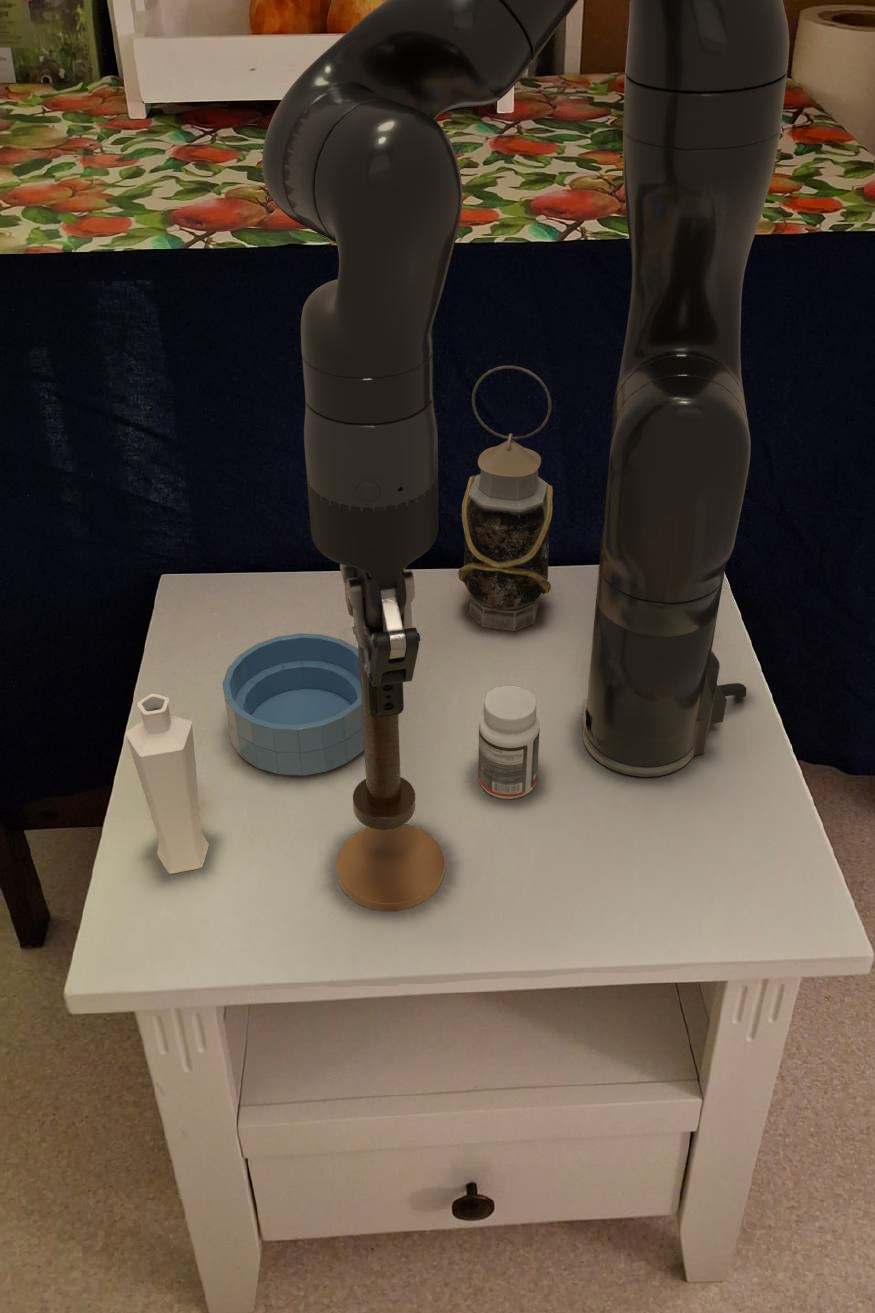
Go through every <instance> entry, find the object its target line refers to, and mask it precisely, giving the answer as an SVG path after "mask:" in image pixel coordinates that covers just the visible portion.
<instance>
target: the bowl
mask: <svg viewBox="0 0 875 1313" xmlns="http://www.w3.org/2000/svg"><path fill="white" fill-rule="evenodd" d="M222 690H223V697H224V704H225V708H226V710H225V711H226V716H227V722H228V729H229V736H230V742H231V745H232V746H233V747H234V749H235V750H236V752H237V754H238V755H239V756H240V757H241V759H243V760H244V761H246V762H247V763H248V764H251V765H252V766H254V767H255V768H256V769H260V770H262V771H263V770H264V771H267V772H270V773H273V774H277V775H283V776H284V775H285V776H309V775H315V774H320V773H326V772H329V771H331V770H334V769H336V768H338V767H341V766H343V765H346V764H348V763H349V762H350V761H352V760H353V759H354V758H356V757H357V756H358V755H359V754H361V753H362V752H363V751H364V733H363V714H362V696H361V680H360V669H359V651H358V647H356V646H355V645H353V644H351V643H349V642H347V641H346V640H343V639H341V638H337V637H333V636H329V635H326V634H322V633H302V632H300V633H293V634H286V635H279V636H275V637H272V638H270V639H269V638H268V639H267V640H264V641H260V642H258V643H256V644H254V645H253V646H251V647H249V648H247V649H246V650H245V651H243V652H241V653H240V654H239V655H237V657H236V658H235V659H234V660H233V661H232V663H231V664H230V665H229V666H228V667H227V669H226V673H225V675H224V678H223V681H222Z"/></svg>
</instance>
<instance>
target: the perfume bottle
mask: <svg viewBox="0 0 875 1313" xmlns="http://www.w3.org/2000/svg"><path fill="white" fill-rule="evenodd" d="M169 703H170V698H169V697H167V696H164V695H161V694H157V693H151V694H148V695H147V696H145V697H144V698H143V699H142V698H141V700H140V701H138V702H137V703H136V706H137V707H138V709H139V710H140V715H141V719H142V720H141V721H139V723H137V724H135V725H134V726H132V727H131V728H130V729H128V730H126V731H125V733H124V734H125V737H126V740H127V744H128V748H129V750H130V753H131V756H132V759H133V763H134V765H135V769H136V772H137V775H138V778H139V781H140V784H141V787H142V788H141V789H142V790H143V794H144V797H145V801H146V803H147V807H148V809H149V812H150V816H151V819H152V822H153V825H154V829H155V832H156V834H157V838H158V844H157V845H158V846H157V851H156V855H157V857H158V859H159V860H160V862H161V864H162V865H163V867H164V868H165V870H166V872H167V873H168V874H177V873H183V872H188V871H192V870H199V869H201V868H203V866H204V864H205V860H206V856H207V853H208V851H209V850H208V849H209V847H210V844H209V842H208V840H207V838H206V837H205V835H204V834H203V831H202V824H201V813H200V800H199V790H198V787H199V786H198V777H197V765H196V754H195V752H196V751H195V742H194V740H195V739H194V730H193V729H194V728H193V721H192V720H189V719H186V718H183V717H179V716H175V715H172V714H171V713H170V707H169Z"/></svg>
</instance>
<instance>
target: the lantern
mask: <svg viewBox="0 0 875 1313" xmlns="http://www.w3.org/2000/svg"><path fill="white" fill-rule="evenodd" d="M506 369H507V370H511V369H512V370H517V371H521V372H523V373H527V374H528V375H530V376H531V377H533V378H534V379H535V380H536V381H538V383H539V384H540V386H542V388H543V390H544V392H545V394H546V398H547V404H548V407H547V413H546V416H545V418H544V420H543V422H542V423H541V425H540V426H539V427H538V428H537V429H535V430H534V431H533V432H530V433H528V434H525V435H521V436H514V435H513V433H509V434H508V435H504V434H500V433H498V432H496V431H494V430H493V429H491V428H490V427H489V426H488V425H486V424H485V423H484V421H483V420H482V419H481V417H480V415H479V413H478V411H477V407H476V393H477V390H478V387H479V386H480V384H481V382H482V381H483V380H484V379H485V378H486V377H487V376H488V375H490V374H492V373H495V372H497V371H500V370H506ZM471 394H472V395H471V406H472V410H473V413H474V416H475V417H476V419H477V422H479V423H480V425H481V426H482V427H483V428H484V429H485V430H486V431H487V432H489V433H490V434H492V435H494V436H496V437H498V438H501V439H505V441H504V442H502V443H500V444H499V445H496V446H492V447H489V448H487V449H484V450H483V451H482V452H481V453H480V454H479V457H478V459H477V466H478V467H479V469H480V474H477V475H471V476H470V477H469V479H468V482H467V486H466V489H465V492H464V496H463V499H462V504H461V521H462V527H463V532H464V553H463V556H464V557H463V566H462V567H460V568H459V570H458V573H457V575H458V580H459V581H461V582H462V583H464V585H465V588H466V590H467V591H468V593H469V594H470V595H469V598H470V602H469V616H470V617H471V618H473V620H474V621H476V622H477V623H478V625H480V626H481V627H482V628H489V629H496V630H503V631H510V632H517V631H519V630H521V629H523V628H526V627H528V626H530V625H531V626H532V625H533V624H534V623H535V621H536V618H537V614H538V611H539V607H540V596H541V595H545V594H549V593H550V591H551V589H552V588H551V587H552V585H551V583H550V581H549V579H548V578H549V554H550V553H549V552H550V524H551V520H552V517H553V494H554V493H553V492H554V490H553V485H550V484H548V482H546V481H545V480H543V479H542V478H541V477H540V476H539V471H538V470H539V469H540V466H541V463H542V457H541V456H540V454H539V453H537V451H534V450H532V449H530V448H526V447H523V446H522V445H521V444H519V443H518V442H516V441H518V440H524V439H528V438H531V437H533V436H535V435H536V434H538V433H540V431H541V430H542V429H544V427H545V426H546V424H547V423H548V421H549V419H550V416H551V413H552V398H551V394H550V392H549V390H548V387H547V385H546V384H545V383H544V381H543V380H542V379H541V378H540V377H539V376H538V375H536V373H534V372H532V371H531V370H529V369H527V368H524V367H521V366H518V365H517V366H516V365H501V366H496V367H494V368H492V369H489V370H487V372H485V373H484V374H482V375H481V377H479V379H478V380H477V381H476V383H475V385H474V387H473V390H472V392H471Z"/></svg>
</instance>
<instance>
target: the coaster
mask: <svg viewBox="0 0 875 1313" xmlns="http://www.w3.org/2000/svg"><path fill="white" fill-rule="evenodd" d="M338 852H339V853H338V855H337V859H336V867H335V868H336V876H337V881H338V884H339V886H340V888H341V889H342V891H343V892H344V893H345V894H346V896H348V897H349V898H350V899H351V900H352V901H354V902H355V903H357V904H358V905H360V906H362V907H365V908H368V909H371V910H374V911H380V912H381V911H382V912H397V911H403V910H406V909H410V908H414V907H416V906H418V905H419V904H422V903H423V902H425V901H427V900H428V899H429V898H430V897H432V896H433V895H434V894H435V892H436V891H438V889H439V887H440V886H441V884H442V882H443V880H444V876H445V869H446V867H445V866H446V865H445V855H444V851H443V849H442V848H441V846H440V844H439V843H438V841H437V840H436V839H435V838H434V837H433V835H431V834H430V833H428V832H427V831H425V830H423V829H421V828H419V827H416V826H414V825H411V824H407V823H405V824H403V825H402V826H399V827H397V828H394V829H388V830H379V829H373V828H370V827H365V828H364V829H361V830H359V831H357V832H356V833H355V834H354V835H352V836H350V838H349V839H347V840H346V842H344V843H343V845H342V847H341V848H340V850H339V851H338Z"/></svg>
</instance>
